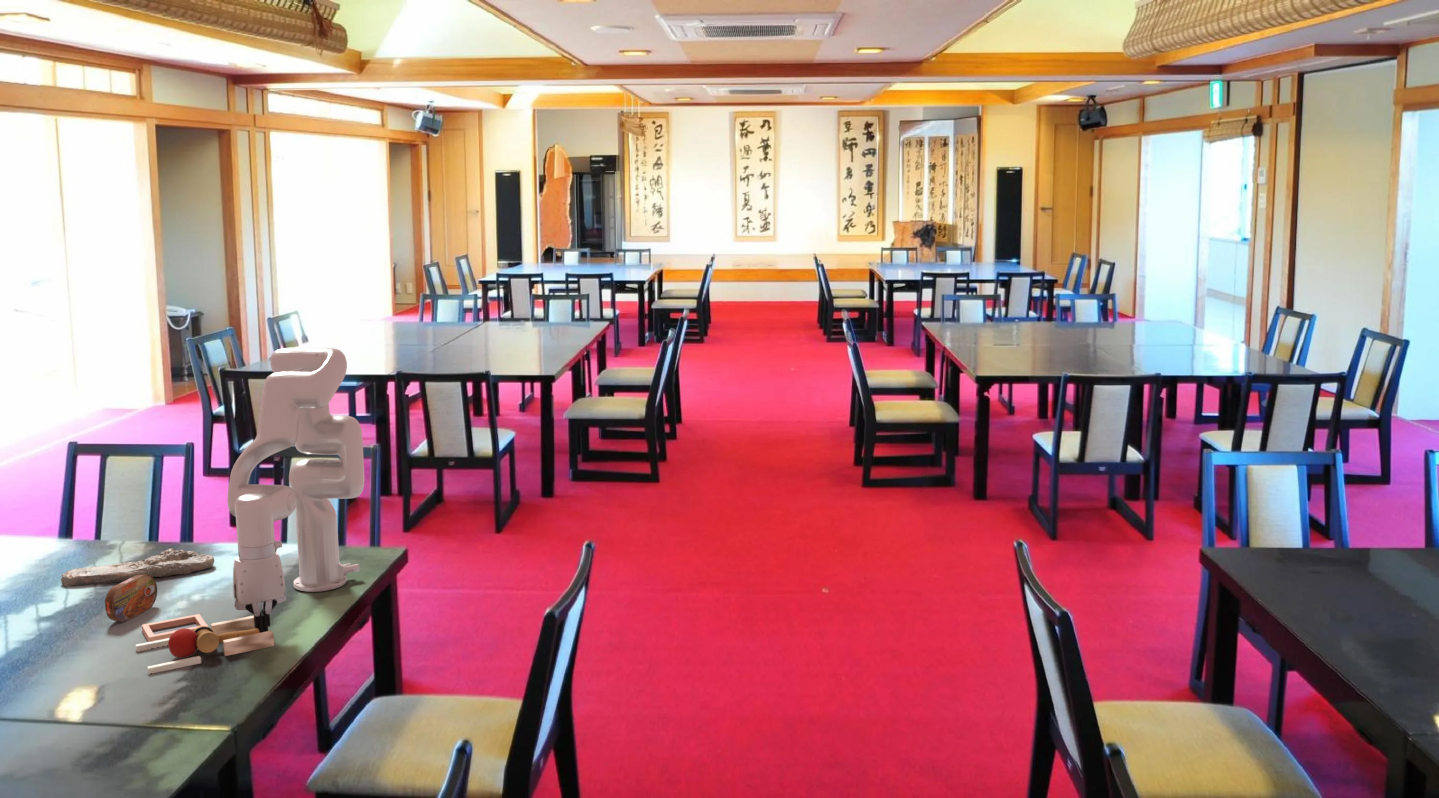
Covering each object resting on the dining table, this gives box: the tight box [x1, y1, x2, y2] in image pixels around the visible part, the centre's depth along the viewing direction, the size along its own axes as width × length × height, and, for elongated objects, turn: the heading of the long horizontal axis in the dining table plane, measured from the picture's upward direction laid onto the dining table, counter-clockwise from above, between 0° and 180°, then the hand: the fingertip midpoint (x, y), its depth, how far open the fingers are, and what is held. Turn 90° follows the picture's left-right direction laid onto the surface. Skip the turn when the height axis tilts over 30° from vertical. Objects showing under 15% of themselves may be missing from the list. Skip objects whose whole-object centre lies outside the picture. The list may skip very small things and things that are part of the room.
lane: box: [210, 614, 275, 657], centre depth 261 cm, size 10×13×3 cm
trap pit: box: [141, 613, 209, 642], centre depth 266 cm, size 12×9×2 cm
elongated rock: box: [60, 547, 215, 587], centre depth 304 cm, size 35×5×10 cm
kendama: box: [167, 626, 260, 659], centre depth 256 cm, size 8×6×18 cm
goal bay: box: [135, 638, 202, 675], centre depth 253 cm, size 10×15×1 cm, turn 34°
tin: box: [104, 575, 158, 623], centre depth 276 cm, size 15×3×8 cm, turn 168°
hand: (262, 630), depth 263 cm, fingers closed
